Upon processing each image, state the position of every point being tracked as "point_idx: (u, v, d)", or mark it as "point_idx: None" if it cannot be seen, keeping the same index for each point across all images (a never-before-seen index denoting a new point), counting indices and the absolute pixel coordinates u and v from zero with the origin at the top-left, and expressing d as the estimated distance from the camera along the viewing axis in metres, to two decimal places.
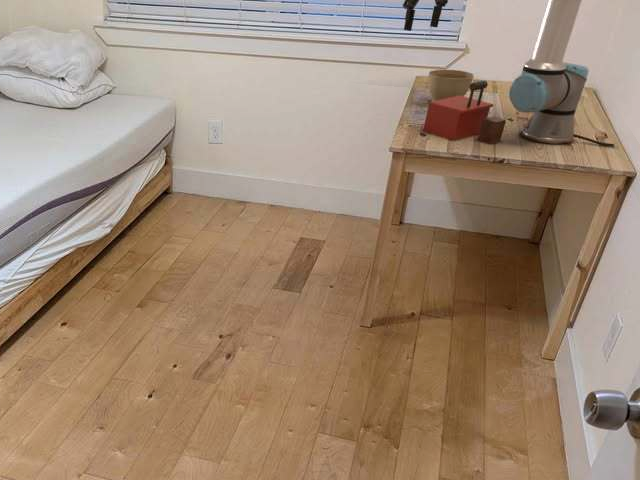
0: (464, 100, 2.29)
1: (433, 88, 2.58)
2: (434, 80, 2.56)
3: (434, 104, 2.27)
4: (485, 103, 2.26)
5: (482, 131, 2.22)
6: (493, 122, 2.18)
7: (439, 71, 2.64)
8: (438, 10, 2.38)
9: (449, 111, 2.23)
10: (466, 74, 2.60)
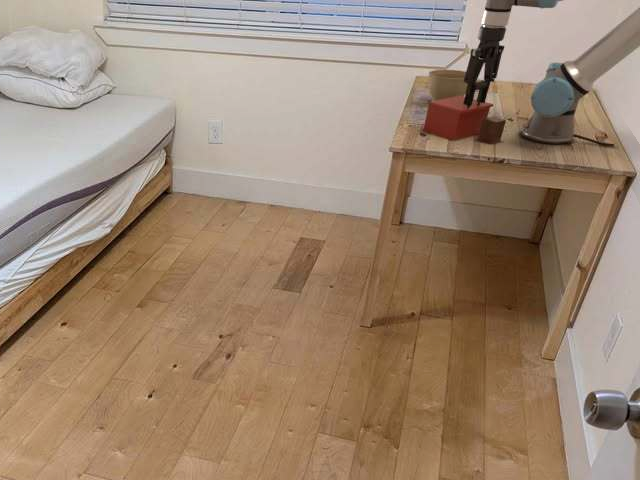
0: None
1: (433, 88, 2.58)
2: (434, 80, 2.56)
3: (434, 104, 2.27)
4: (485, 103, 2.26)
5: (482, 131, 2.22)
6: (493, 122, 2.18)
7: (439, 71, 2.64)
8: None
9: (449, 111, 2.23)
10: None
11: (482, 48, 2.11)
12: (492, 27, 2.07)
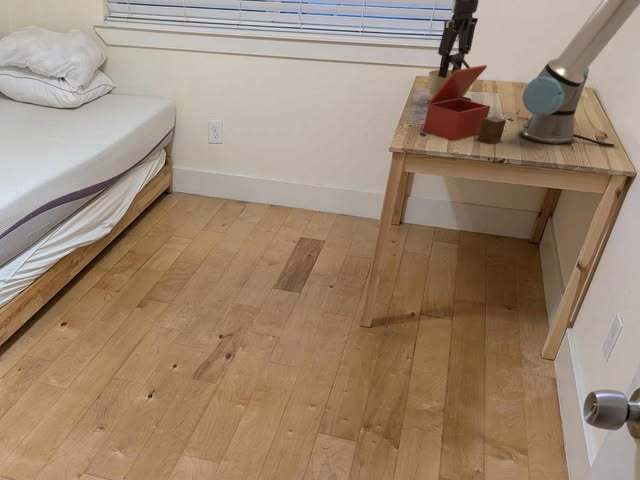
0: None
1: (433, 88, 2.58)
2: (434, 80, 2.56)
3: (433, 97, 2.26)
4: None
5: (482, 131, 2.22)
6: (493, 122, 2.18)
7: None
8: None
9: (449, 111, 2.23)
10: None
11: (455, 20, 2.15)
12: None
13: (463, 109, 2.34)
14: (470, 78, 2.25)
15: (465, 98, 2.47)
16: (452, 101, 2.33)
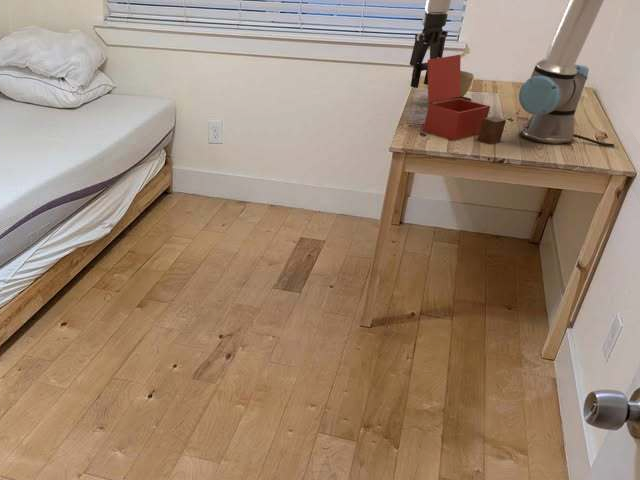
0: None
1: None
2: None
3: (428, 95, 2.27)
4: None
5: (482, 131, 2.22)
6: (493, 122, 2.18)
7: None
8: None
9: (449, 111, 2.23)
10: (466, 74, 2.60)
11: (425, 33, 2.25)
12: (434, 13, 2.22)
13: (463, 109, 2.34)
14: (452, 69, 2.30)
15: (465, 98, 2.47)
16: (452, 101, 2.33)
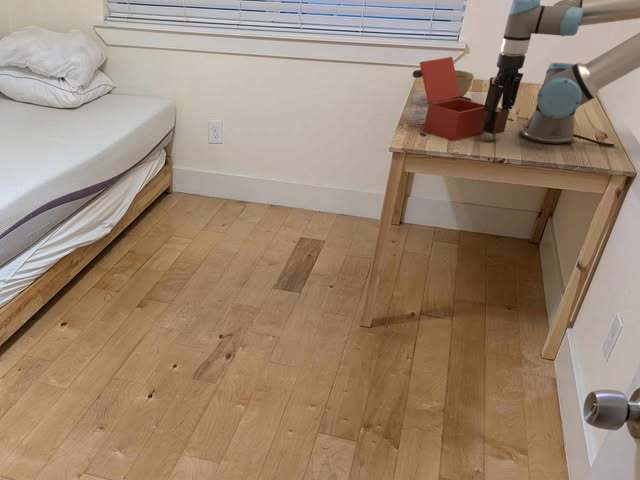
0: None
1: None
2: None
3: (427, 96, 2.28)
4: None
5: None
6: (497, 112, 2.16)
7: None
8: None
9: (449, 111, 2.23)
10: (466, 74, 2.60)
11: (501, 76, 2.10)
12: (511, 55, 2.07)
13: (463, 109, 2.34)
14: (446, 71, 2.31)
15: (465, 98, 2.47)
16: (452, 101, 2.33)
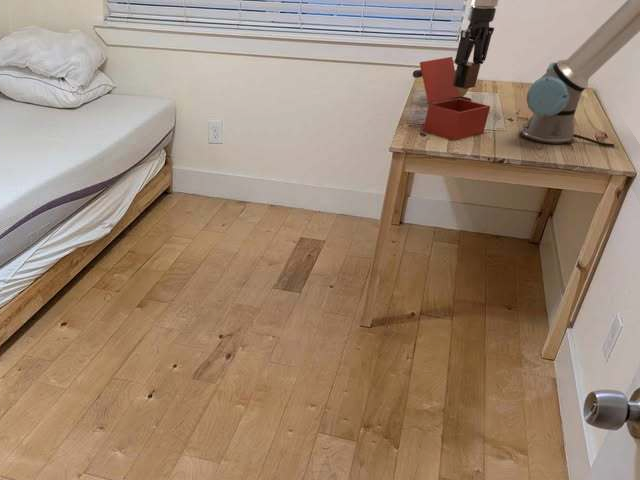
0: None
1: None
2: None
3: (427, 96, 2.28)
4: None
5: None
6: None
7: None
8: None
9: (449, 111, 2.23)
10: None
11: (472, 29, 2.12)
12: (482, 8, 2.08)
13: (463, 109, 2.34)
14: (446, 71, 2.31)
15: (465, 98, 2.47)
16: (452, 101, 2.33)
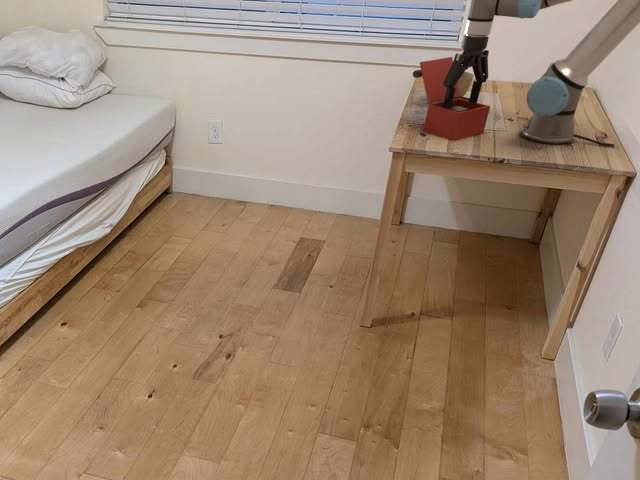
0: None
1: None
2: None
3: (427, 96, 2.28)
4: None
5: None
6: None
7: None
8: (478, 86, 2.26)
9: (449, 111, 2.23)
10: (466, 74, 2.60)
11: (465, 57, 2.16)
12: (475, 36, 2.13)
13: None
14: (446, 71, 2.31)
15: (465, 98, 2.47)
16: None
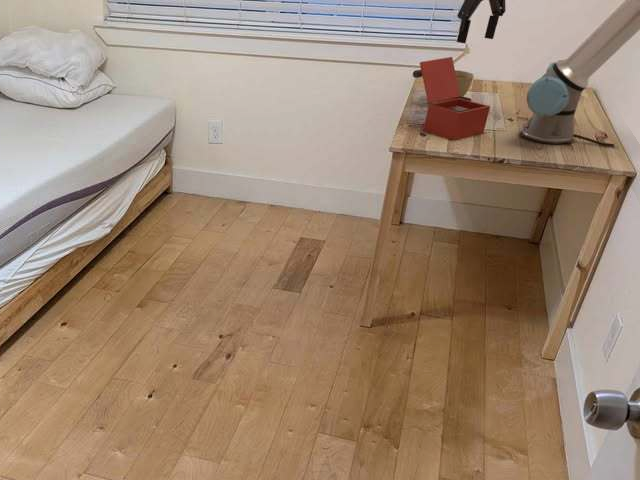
0: None
1: None
2: None
3: (427, 96, 2.28)
4: None
5: None
6: None
7: None
8: (495, 20, 2.15)
9: (449, 111, 2.23)
10: (466, 74, 2.60)
11: None
12: None
13: None
14: (446, 71, 2.31)
15: (465, 98, 2.47)
16: (452, 101, 2.33)
